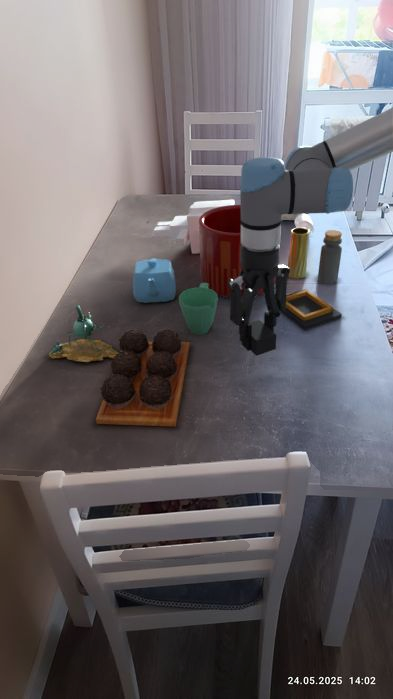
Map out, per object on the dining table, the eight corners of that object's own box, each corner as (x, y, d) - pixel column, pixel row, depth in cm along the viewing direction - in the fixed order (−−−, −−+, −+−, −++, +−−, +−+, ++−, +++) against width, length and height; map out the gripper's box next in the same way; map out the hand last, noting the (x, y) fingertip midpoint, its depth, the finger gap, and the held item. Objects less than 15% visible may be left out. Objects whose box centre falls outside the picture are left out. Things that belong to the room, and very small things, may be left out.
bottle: (314, 281, 146) (319, 234, 137) (322, 273, 150) (327, 227, 141) (332, 286, 143) (339, 238, 134) (340, 278, 147) (347, 231, 138)
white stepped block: (167, 235, 184) (240, 231, 178) (151, 263, 165) (232, 261, 159) (161, 196, 176) (237, 192, 170) (143, 222, 156) (229, 217, 150)
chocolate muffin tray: (176, 427, 98) (173, 396, 93) (96, 424, 100) (89, 394, 95) (189, 347, 121) (187, 318, 116) (124, 346, 122) (120, 318, 117)
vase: (282, 274, 150) (285, 231, 142) (294, 268, 154) (298, 225, 145) (298, 280, 147) (302, 236, 138) (310, 274, 150) (315, 230, 141)
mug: (215, 341, 122) (214, 307, 116) (177, 338, 124) (174, 305, 118) (223, 311, 134) (223, 279, 128) (188, 309, 136) (186, 277, 130)
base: (341, 317, 129) (342, 310, 128) (305, 330, 125) (305, 322, 123) (304, 292, 141) (305, 285, 139) (270, 303, 137) (270, 296, 135)
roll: (297, 240, 171) (299, 225, 167) (293, 227, 180) (294, 213, 177) (315, 240, 170) (316, 225, 167) (309, 227, 180) (311, 212, 177)
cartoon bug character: (59, 340, 126) (53, 290, 117) (125, 351, 124) (124, 301, 115) (43, 361, 118) (35, 310, 109) (113, 374, 116) (111, 322, 108)
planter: (251, 259, 160) (253, 199, 148) (291, 288, 143) (297, 223, 131) (188, 275, 152) (185, 213, 140) (222, 308, 135) (222, 240, 123)
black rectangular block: (276, 349, 104) (276, 334, 102) (256, 356, 103) (256, 341, 100) (258, 333, 110) (258, 318, 107) (239, 340, 108) (239, 325, 105)
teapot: (132, 315, 134) (127, 278, 128) (136, 284, 149) (132, 250, 142) (176, 313, 134) (173, 276, 128) (176, 282, 149) (174, 248, 142)
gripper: (287, 228, 98) (281, 324, 112) (209, 248, 92) (213, 347, 106) (310, 240, 93) (301, 339, 106) (229, 263, 87) (230, 365, 100)
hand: (257, 343), depth 106 cm, fingers closed on black rectangular block, 5 cm apart
